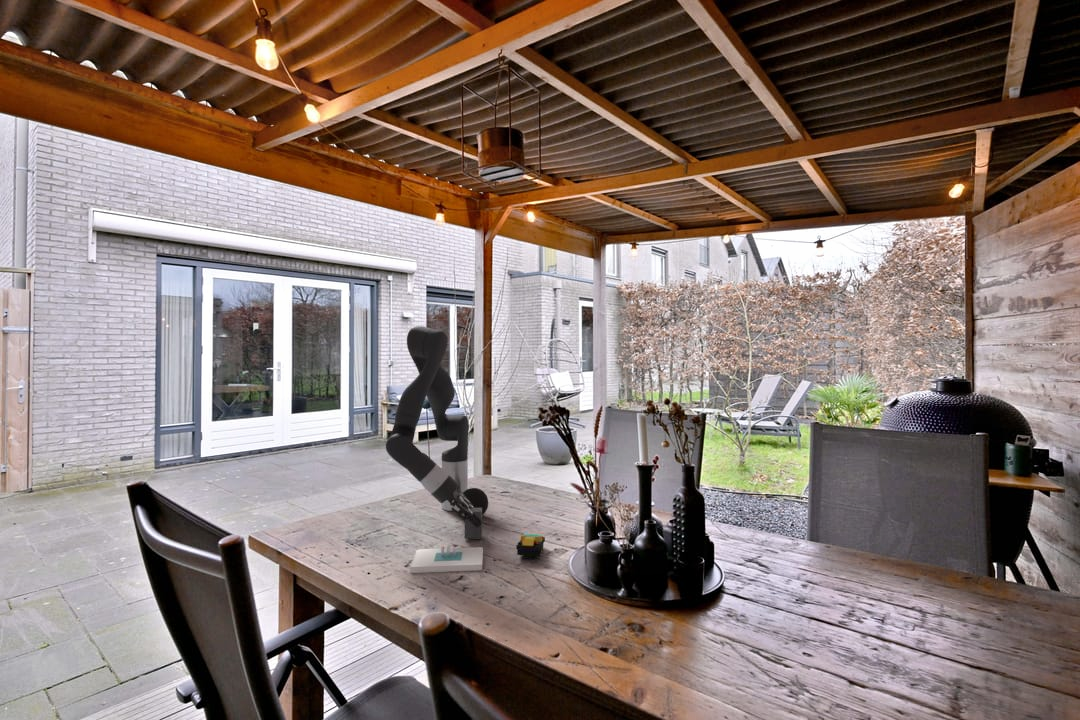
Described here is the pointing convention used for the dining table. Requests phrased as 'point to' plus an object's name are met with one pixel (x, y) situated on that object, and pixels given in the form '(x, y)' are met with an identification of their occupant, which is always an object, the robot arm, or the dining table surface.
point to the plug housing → (470, 529)
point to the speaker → (477, 498)
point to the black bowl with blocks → (530, 545)
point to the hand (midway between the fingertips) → (479, 522)
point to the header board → (447, 560)
